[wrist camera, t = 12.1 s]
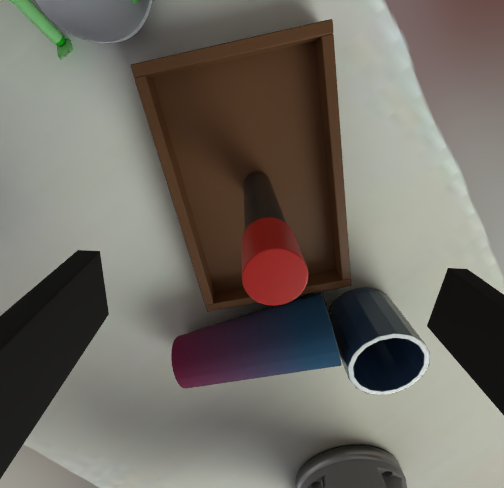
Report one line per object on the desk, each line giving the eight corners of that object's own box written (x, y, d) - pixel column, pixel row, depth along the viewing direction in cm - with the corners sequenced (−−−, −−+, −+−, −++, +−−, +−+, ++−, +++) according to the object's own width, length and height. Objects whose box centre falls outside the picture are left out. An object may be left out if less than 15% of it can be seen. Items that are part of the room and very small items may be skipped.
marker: (274, 196, 26) (312, 299, 12) (245, 202, 27) (249, 311, 12) (269, 166, 25) (303, 241, 11) (238, 173, 26) (234, 255, 11)
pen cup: (393, 334, 34) (428, 387, 28) (330, 345, 34) (351, 400, 28) (392, 281, 31) (431, 326, 25) (323, 294, 31) (344, 342, 25)
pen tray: (342, 272, 30) (351, 286, 28) (210, 296, 31) (207, 312, 29) (322, 28, 22) (332, 18, 20) (141, 68, 23) (129, 64, 20)
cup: (179, 314, 33) (316, 280, 31) (200, 364, 35) (329, 334, 33) (159, 357, 26) (330, 317, 25) (186, 415, 28) (346, 382, 27)
